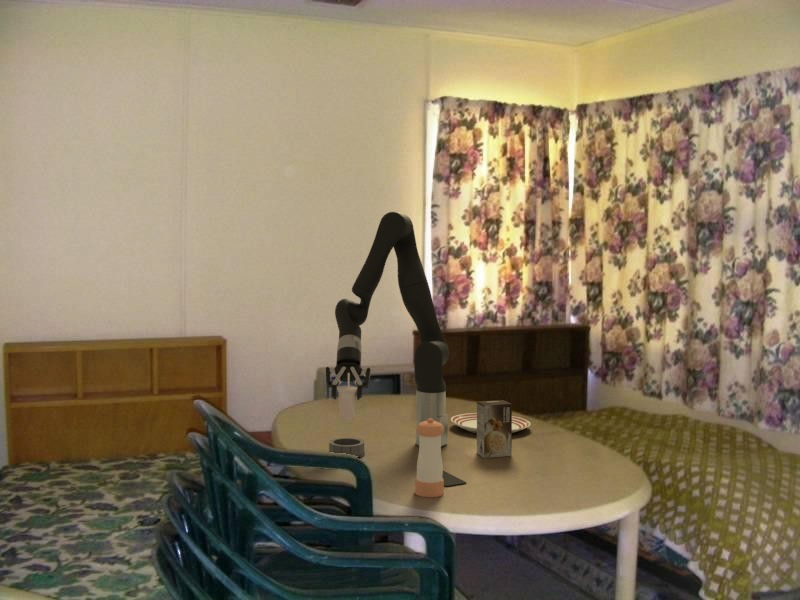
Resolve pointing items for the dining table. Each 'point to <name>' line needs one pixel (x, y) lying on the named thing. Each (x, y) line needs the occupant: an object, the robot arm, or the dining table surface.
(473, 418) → the dinner plate
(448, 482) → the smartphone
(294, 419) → the dining table surface
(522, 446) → the dining table surface
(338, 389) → the smoothie
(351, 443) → the grey short hollow cylinder
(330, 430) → the dining table surface
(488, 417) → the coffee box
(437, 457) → the salt shaker
